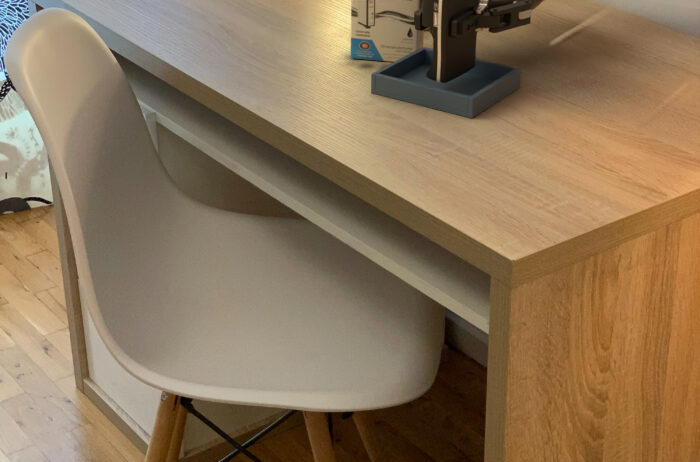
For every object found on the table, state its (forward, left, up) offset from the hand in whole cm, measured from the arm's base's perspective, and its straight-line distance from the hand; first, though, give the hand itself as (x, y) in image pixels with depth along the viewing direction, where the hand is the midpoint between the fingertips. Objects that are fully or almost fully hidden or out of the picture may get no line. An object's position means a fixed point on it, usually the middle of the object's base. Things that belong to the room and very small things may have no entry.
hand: (436, 25), depth 117 cm
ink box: (+12, -9, -9) cm, 17 cm away
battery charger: (0, -3, -7) cm, 7 cm away
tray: (0, -3, -8) cm, 9 cm away
